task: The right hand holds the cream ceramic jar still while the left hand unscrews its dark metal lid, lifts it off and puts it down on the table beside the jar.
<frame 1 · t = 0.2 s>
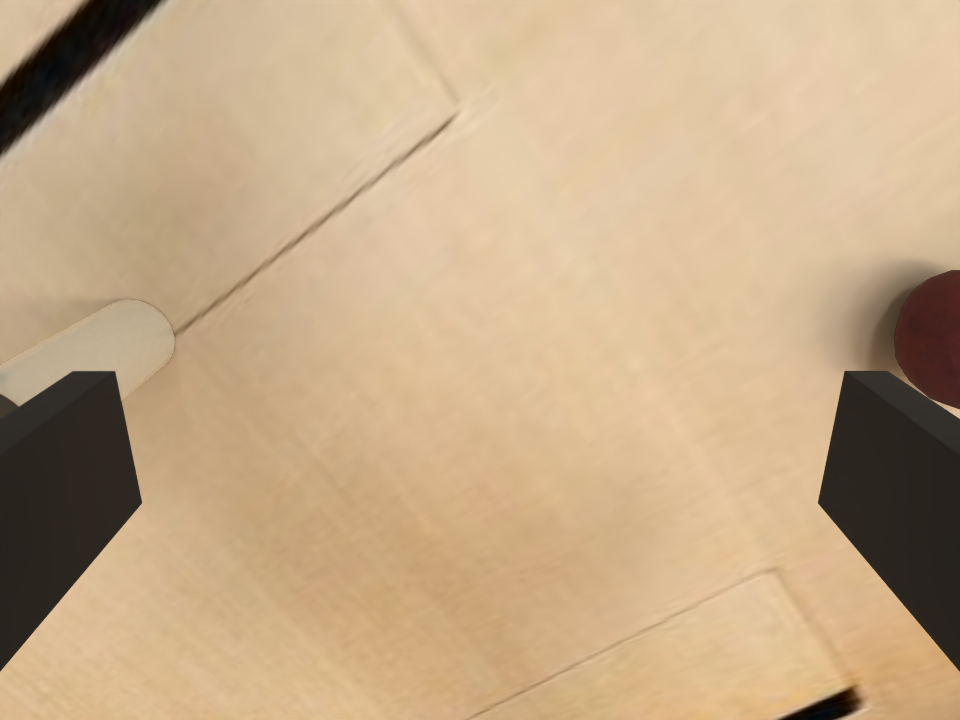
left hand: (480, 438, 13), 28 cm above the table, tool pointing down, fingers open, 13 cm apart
jar: (136, 336, 41), on the table
dark red ball: (928, 317, 41), on the table
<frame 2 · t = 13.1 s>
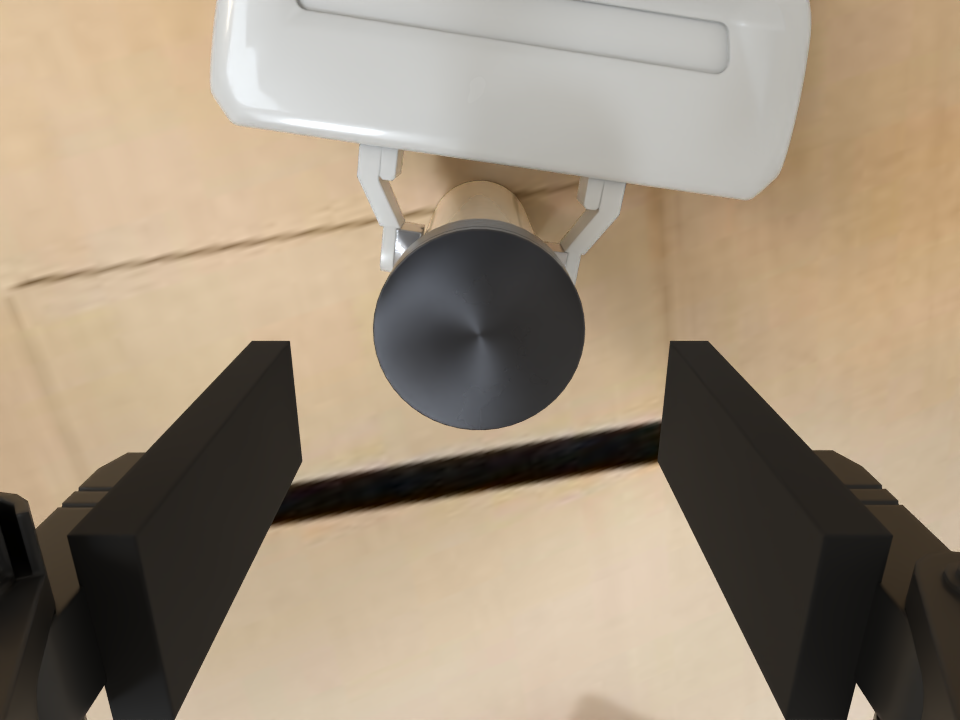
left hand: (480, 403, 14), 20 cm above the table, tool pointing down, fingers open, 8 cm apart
right hand: (477, 281, 27), fingers closed on jar, 5 cm apart
jar: (479, 230, 33), on the table, touching right hand
lid: (479, 331, 18), point 15 cm above the table, screwed on, not yet turned
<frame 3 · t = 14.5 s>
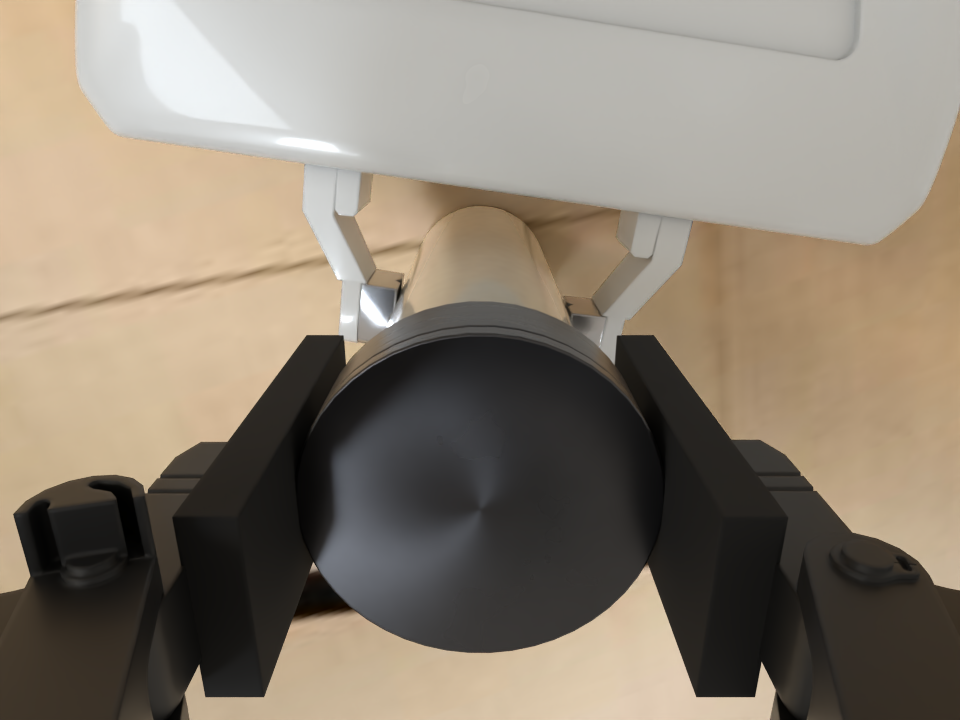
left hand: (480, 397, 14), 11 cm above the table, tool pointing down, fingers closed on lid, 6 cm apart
right hand: (477, 352, 19), fingers closed on jar, 5 cm apart
jar: (480, 270, 25), on the table, touching right hand
lid: (480, 496, 11), point 15 cm above the table, screwed on, not yet turned, touching left hand
when the left hand's fingers open (0 cm above the table, at t = 35.1 s): lid drops 3 cm, point 1 cm above the table.
when the right hand's fingers open (6 cm above the table, at t = 35.8 s): jar stays where it is, on the table.
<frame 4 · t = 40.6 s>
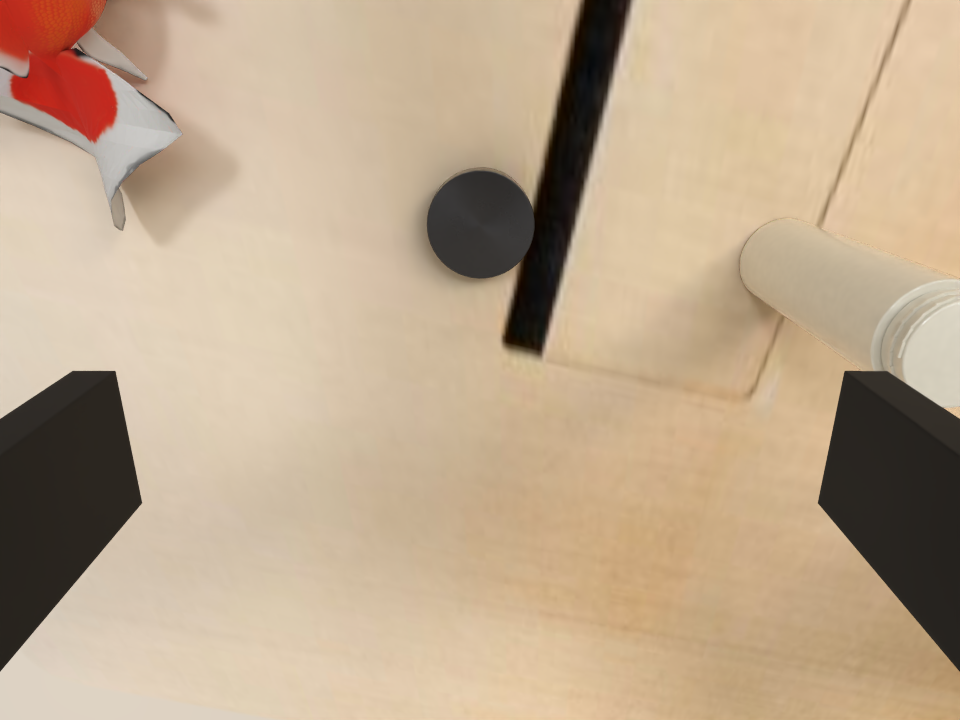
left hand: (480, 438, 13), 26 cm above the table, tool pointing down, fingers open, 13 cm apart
jar: (781, 260, 38), on the table
fish: (119, 64, 35), on the table
lid: (480, 224, 36), point 1 cm above the table, off its thread
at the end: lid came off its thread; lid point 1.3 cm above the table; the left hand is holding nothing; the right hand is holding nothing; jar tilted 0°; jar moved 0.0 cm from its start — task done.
